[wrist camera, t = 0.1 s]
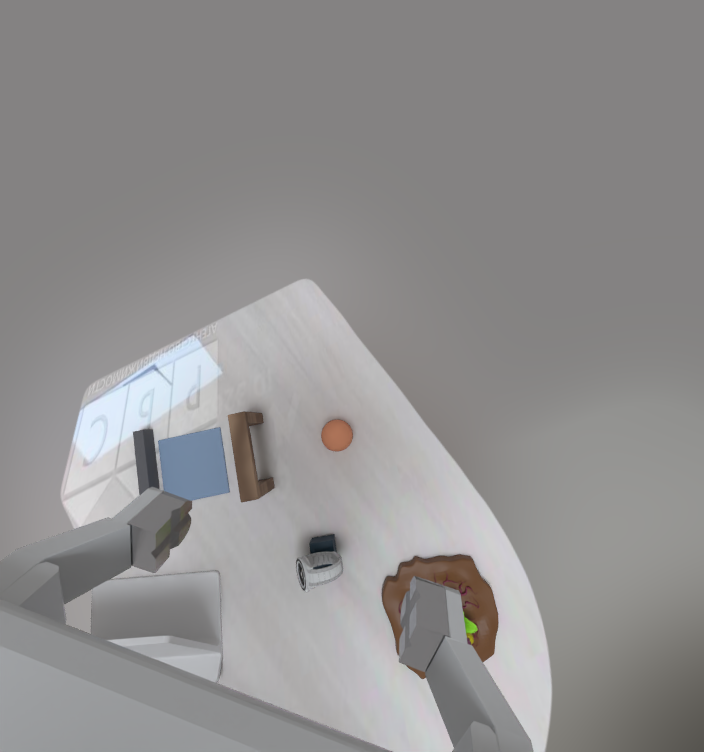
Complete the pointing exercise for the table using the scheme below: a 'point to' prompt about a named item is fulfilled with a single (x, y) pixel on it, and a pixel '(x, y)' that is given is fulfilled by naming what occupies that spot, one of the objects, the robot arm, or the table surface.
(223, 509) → the table surface
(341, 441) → the ball
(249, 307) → the table surface
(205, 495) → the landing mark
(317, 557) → the watch
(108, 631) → the tablet stand
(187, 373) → the table surface
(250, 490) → the bridge
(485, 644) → the plant
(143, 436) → the stopper
